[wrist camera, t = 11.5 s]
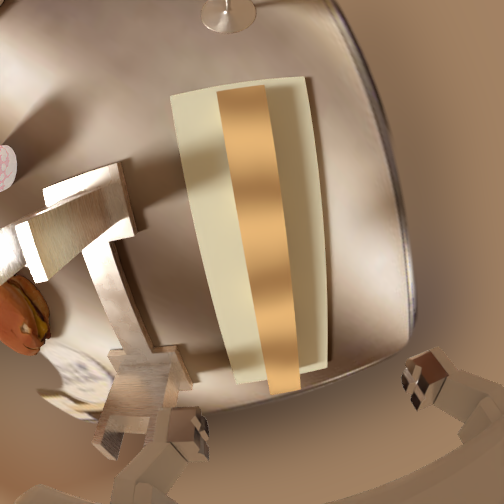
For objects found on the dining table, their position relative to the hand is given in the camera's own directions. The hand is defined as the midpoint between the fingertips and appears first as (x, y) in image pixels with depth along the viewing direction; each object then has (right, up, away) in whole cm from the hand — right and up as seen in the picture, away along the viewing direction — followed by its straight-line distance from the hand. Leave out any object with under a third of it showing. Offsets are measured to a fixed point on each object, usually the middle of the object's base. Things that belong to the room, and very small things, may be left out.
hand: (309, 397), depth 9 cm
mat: (-1, +5, +14) cm, 15 cm away
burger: (-29, -1, +15) cm, 32 cm away
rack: (-15, +1, +15) cm, 21 cm away
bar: (-1, +5, +13) cm, 14 cm away
